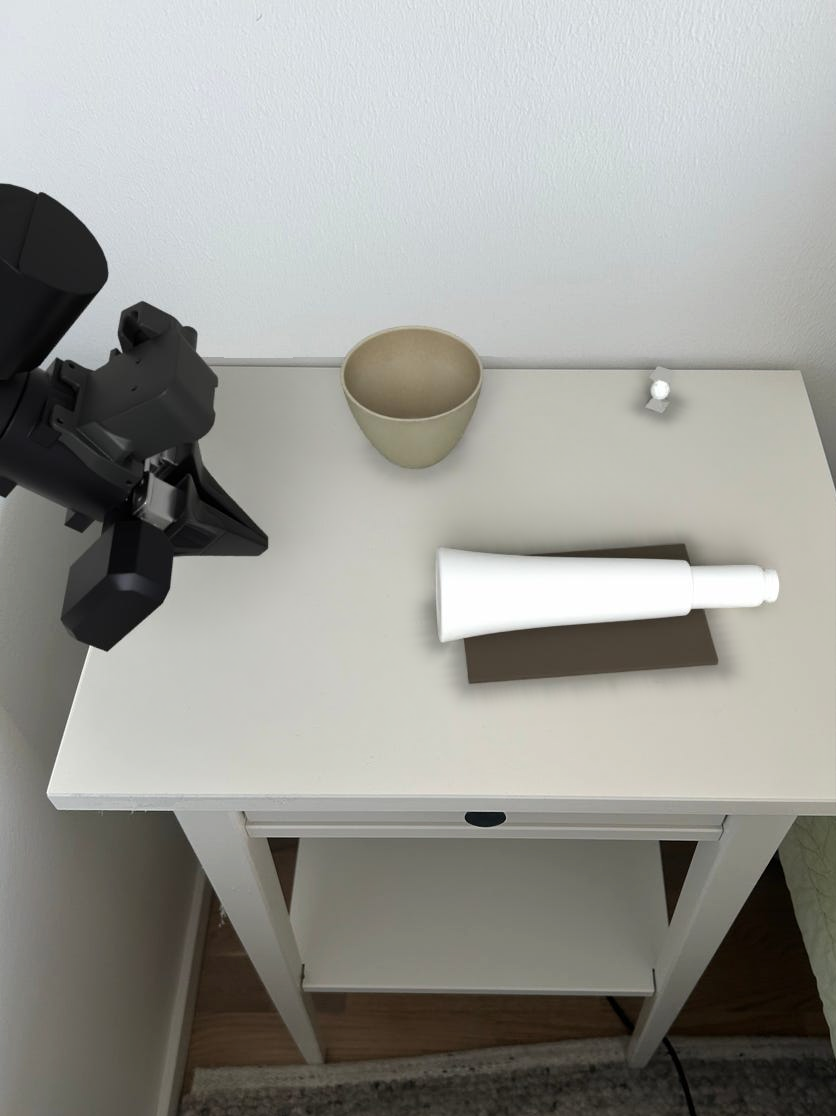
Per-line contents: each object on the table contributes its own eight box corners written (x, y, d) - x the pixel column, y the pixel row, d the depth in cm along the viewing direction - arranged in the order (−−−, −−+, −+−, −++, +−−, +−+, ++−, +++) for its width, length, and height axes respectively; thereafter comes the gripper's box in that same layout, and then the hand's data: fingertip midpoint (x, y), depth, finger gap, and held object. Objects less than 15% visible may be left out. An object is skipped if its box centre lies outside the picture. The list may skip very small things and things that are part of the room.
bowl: (323, 462, 75) (311, 386, 69) (397, 386, 80) (391, 309, 74) (437, 513, 72) (434, 438, 66) (506, 430, 77) (509, 354, 71)
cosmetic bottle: (439, 660, 65) (770, 648, 67) (442, 607, 59) (800, 596, 62) (434, 584, 68) (749, 575, 70) (436, 527, 63) (776, 519, 65)
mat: (469, 684, 63) (469, 680, 63) (455, 563, 69) (455, 559, 69) (717, 664, 64) (718, 661, 64) (683, 547, 70) (684, 543, 70)
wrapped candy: (669, 402, 79) (676, 371, 76) (662, 413, 78) (668, 383, 76) (652, 396, 79) (657, 365, 77) (644, 407, 79) (650, 376, 76)
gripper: (53, 454, 39) (358, 607, 49) (109, 193, 50) (350, 360, 60) (-68, 592, 45) (225, 704, 55) (5, 331, 56) (240, 464, 66)
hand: (264, 547), depth 59 cm, fingers closed
